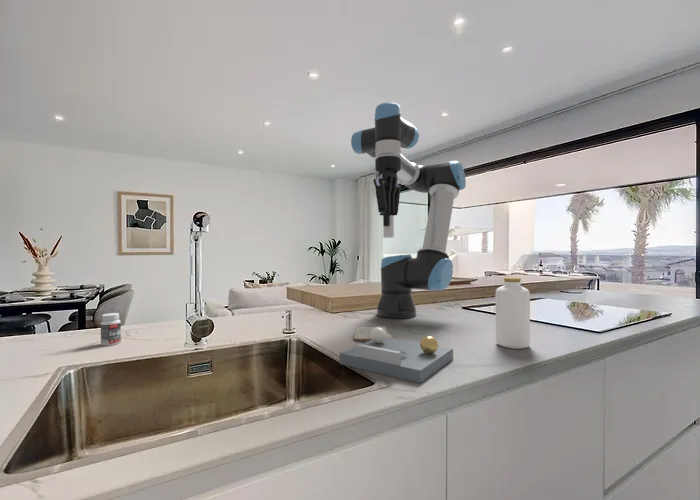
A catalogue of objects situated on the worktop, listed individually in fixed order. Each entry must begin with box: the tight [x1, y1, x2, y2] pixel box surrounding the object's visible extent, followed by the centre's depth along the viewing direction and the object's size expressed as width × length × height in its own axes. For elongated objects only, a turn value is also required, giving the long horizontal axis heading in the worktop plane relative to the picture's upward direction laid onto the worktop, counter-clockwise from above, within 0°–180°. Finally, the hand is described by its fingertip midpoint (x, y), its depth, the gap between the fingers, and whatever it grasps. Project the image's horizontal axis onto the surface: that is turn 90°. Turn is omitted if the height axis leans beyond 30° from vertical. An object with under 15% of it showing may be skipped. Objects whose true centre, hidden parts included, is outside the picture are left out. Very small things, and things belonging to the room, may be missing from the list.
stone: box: [353, 325, 393, 343], centre depth 104 cm, size 15×11×3 cm
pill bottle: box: [100, 312, 122, 347], centre depth 100 cm, size 5×5×8 cm
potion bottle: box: [495, 277, 531, 350], centre depth 95 cm, size 8×8×18 cm
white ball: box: [370, 326, 386, 344], centre depth 89 cm, size 4×4×4 cm
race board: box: [339, 337, 454, 384], centre depth 83 cm, size 18×20×5 cm
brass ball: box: [419, 335, 439, 354], centre depth 80 cm, size 4×4×4 cm
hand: (388, 237), depth 105 cm, fingers closed
